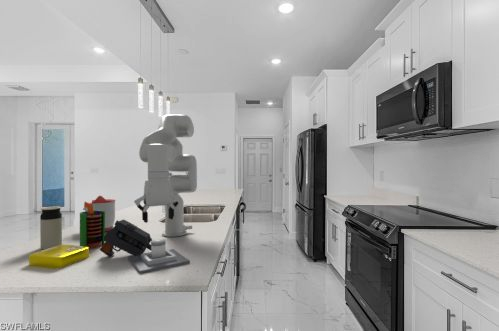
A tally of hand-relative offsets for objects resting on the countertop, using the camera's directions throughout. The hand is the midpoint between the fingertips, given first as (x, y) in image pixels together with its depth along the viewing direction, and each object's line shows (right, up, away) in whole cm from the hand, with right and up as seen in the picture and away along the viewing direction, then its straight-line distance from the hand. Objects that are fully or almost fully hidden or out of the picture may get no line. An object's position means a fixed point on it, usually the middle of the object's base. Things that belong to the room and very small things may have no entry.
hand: (158, 220), depth 110 cm
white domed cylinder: (0, -15, 0) cm, 15 cm away
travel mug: (-55, -16, +19) cm, 60 cm away
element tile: (-39, -17, +1) cm, 42 cm away
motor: (-37, -16, +20) cm, 45 cm away
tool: (-15, -16, +7) cm, 23 cm away
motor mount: (0, -16, 0) cm, 16 cm away
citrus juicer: (-50, -16, +51) cm, 73 cm away
